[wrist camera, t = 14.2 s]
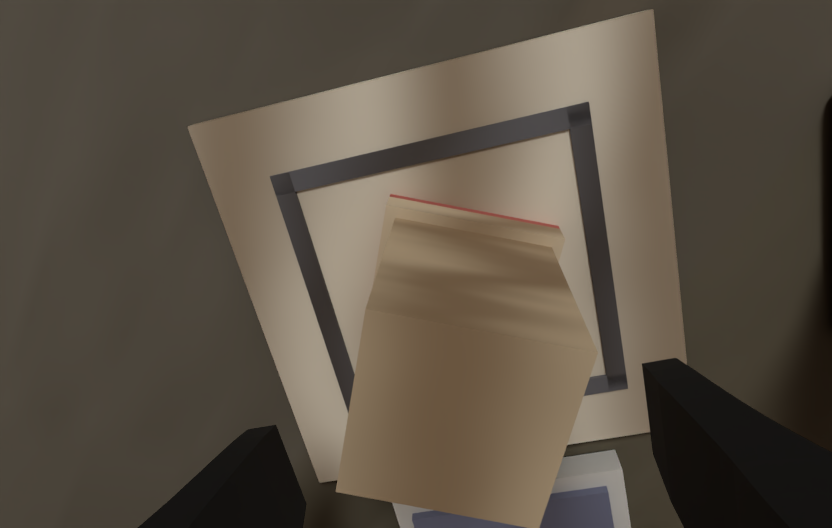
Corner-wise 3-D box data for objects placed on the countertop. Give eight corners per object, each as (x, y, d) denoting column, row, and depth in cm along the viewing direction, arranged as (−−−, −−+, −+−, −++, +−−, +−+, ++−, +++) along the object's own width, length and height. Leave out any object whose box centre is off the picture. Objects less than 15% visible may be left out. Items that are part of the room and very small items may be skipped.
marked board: (645, 10, 16) (654, 9, 15) (686, 414, 20) (694, 427, 20) (196, 123, 18) (186, 127, 17) (322, 471, 22) (318, 484, 21)
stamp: (558, 225, 18) (618, 341, 11) (517, 370, 19) (548, 542, 13) (390, 193, 17) (351, 291, 11) (365, 341, 19) (319, 500, 13)
